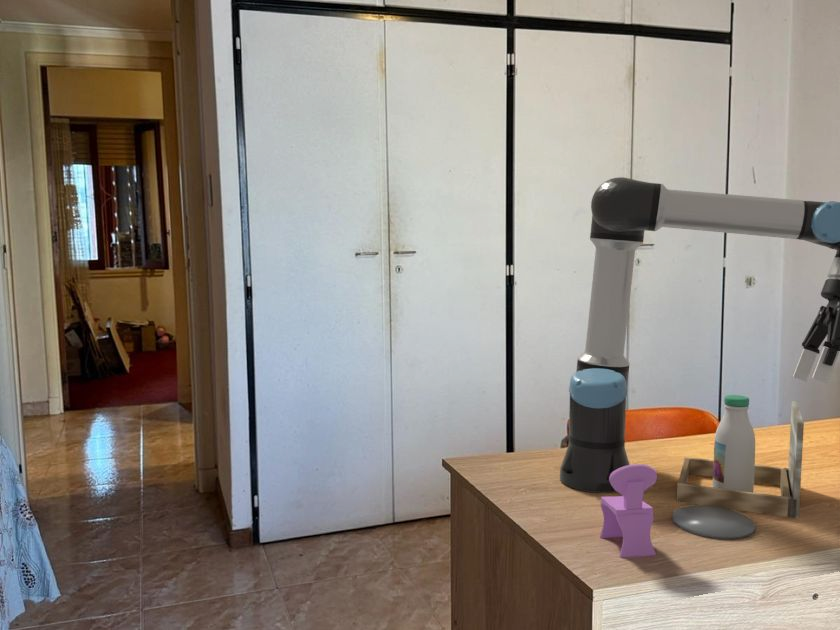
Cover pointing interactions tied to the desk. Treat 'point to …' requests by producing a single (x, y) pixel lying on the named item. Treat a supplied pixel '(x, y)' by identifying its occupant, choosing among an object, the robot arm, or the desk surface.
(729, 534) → the pad
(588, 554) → the desk surface
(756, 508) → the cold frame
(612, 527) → the toy chair
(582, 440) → the robot arm
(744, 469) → the milk bottle
